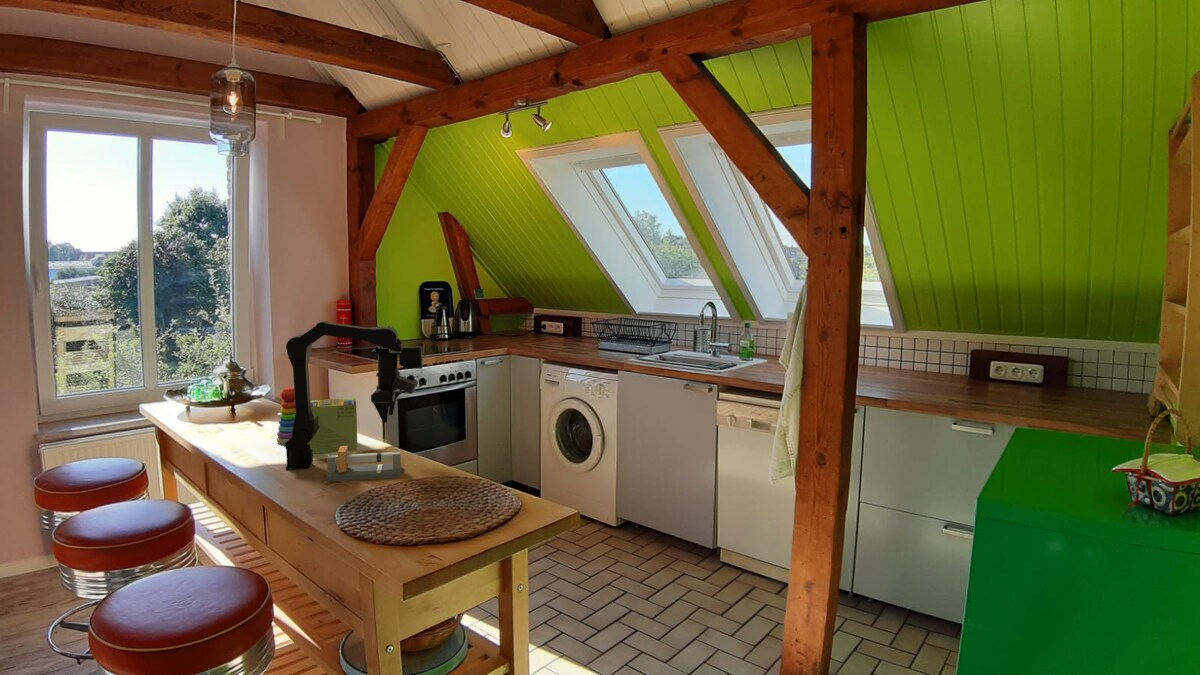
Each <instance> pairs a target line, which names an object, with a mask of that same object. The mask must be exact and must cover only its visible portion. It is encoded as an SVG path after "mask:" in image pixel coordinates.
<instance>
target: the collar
mask: <svg viewBox="0 0 1200 675" xmlns="http://www.w3.org/2000/svg"><path fill="white" fill-rule="evenodd" d="M346 454H349V451H348V446H340V448H339V450H338V452H337V455H338V464H337V466H338V472H346V470H347V468H348V466H349V463H346Z"/></svg>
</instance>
